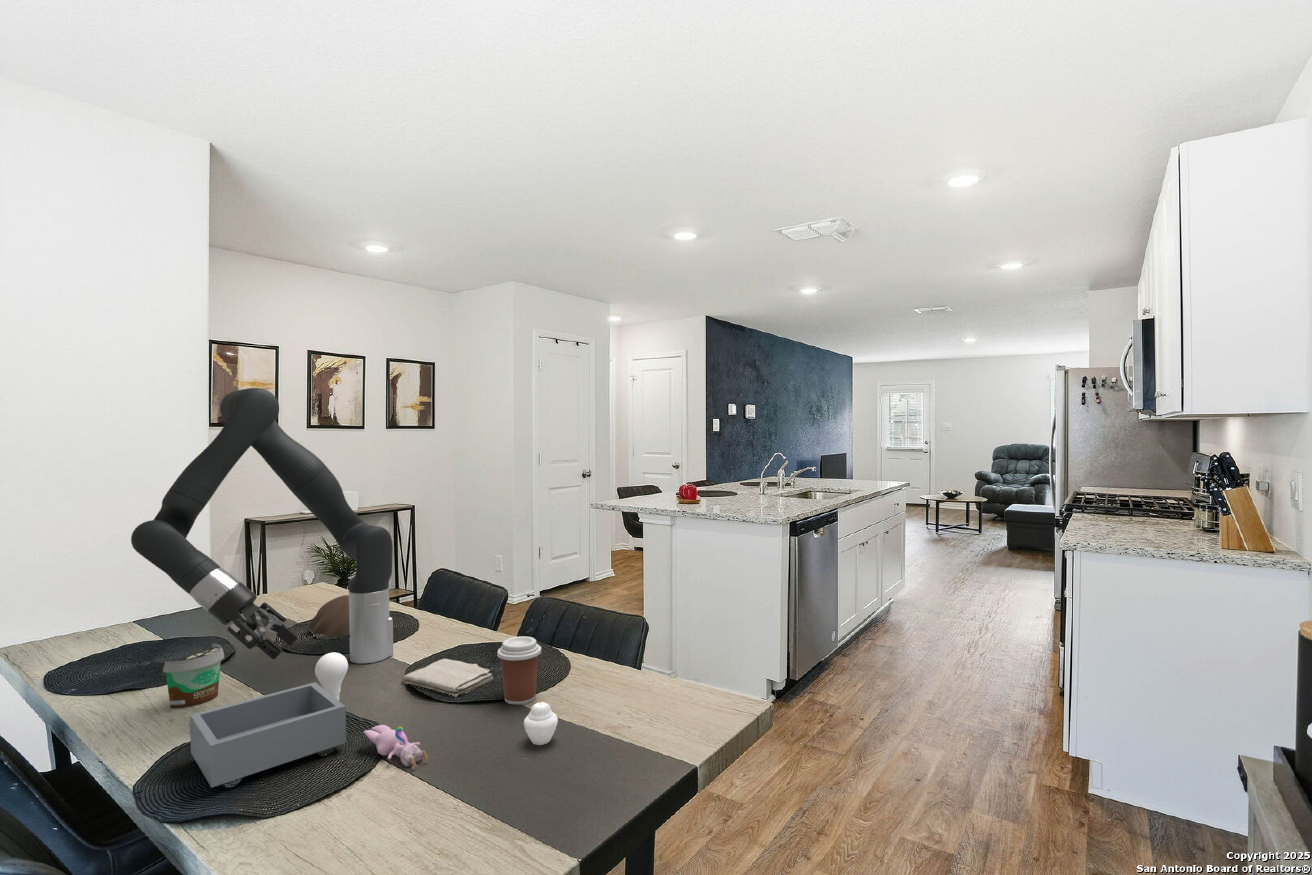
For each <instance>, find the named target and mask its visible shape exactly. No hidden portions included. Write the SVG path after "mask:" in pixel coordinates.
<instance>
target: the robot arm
mask: <svg viewBox="0 0 1312 875" xmlns="http://www.w3.org/2000/svg"><path fill="white" fill-rule="evenodd" d="M219 408H220V409H219V412H220V415H221V418H222V420H223V422H224V423H225V424H224V425H223V427H222V428H221V430H220V431H219V433H218V434H217V436H216V437H215V438H214V439H212V441H211V442H210V443H209V444H208V445H207V447H205V448H204V449H203V451H202V452H201V453H199V454H198V455H197V456H196V457H195V458H194V459H193V460H192V461H191V462H190V463H189V464H188V465H187V466H186V467H185V468H184V469H183V470H182V472H181V473H180V474H179V476H178V477H177V478H176V480H175V481H174V482H173V483H172V485H171V486H170V488H168V491H167V492H166V493H165V495H164V497H163V498H162V501H161V507H160V509H159V511H158V512H157V514H156V516H155V517H154V519H152V520H147V521H144V522H142V523H140V524H138V526H136V527H135V528H134V530H133V531H132V533H131V537H130V543H131V546H132V548H133V550H135V552H137V553H138V554H139V555H140V556H142V557H143V558H144V559H145V560H147V561H148V562H150V563H151V564H152V565H154V566H155V567H156V568H158V569H160V570H161V571H162V572H164V573H165V574H166V575H167V576H168V577H169V579H171V580H172V581H173V582H174V583H175V584H176V585H177V586H178V587H179V588H181V589H182V590H183V591H184V592H185V593H186V594H188V595H189V596H190V597H191V598H192V599H193V600H194V601H195V602H196V604H197V605H199V606H200V607H201V608H203V609H204V610H205V611H206V612H208V614H210V615H211V616H212V617H214V618H215V620H217V621H218V622H220V623H221V624H222V625H224V626H228V625H229V624H230V626H228V627H227V628H226V629H227V632H229V633H230V635H232V636H234V638H235V639H236V640H238V641H239V642H240V644H242V645H244V647H246V648H247V649H249V650H252V649H253V648H254V649H259V650H260V651H262V652H264V654H266V655H267V656H268V657H270V659H272V660H275V659H277V658H278V657H279V656H280V655H281V654H282V653H283V649H282V647H280V646H278V644H276V643H275V642H274V641H272V640H271V639H270V638H268V636H267V635H266V632H270V633H272V634H275V635H276V637H278V638H280V640H282V641H283V642H284V643H285V644H286V645H288V646H292V645H293V644H295V643H296V641H297V640H299V637H298V635H297V634H295V632H293V631H292V630H291V629H289V628H288V627H287V626H286V622H287V619H286V617H284V616H283V615H282V614H281V613H280V612H278V611H277V610H276V609H274V608H273V607H272V606H270V605H269V604H268V603H266V602H263V603H262V604H260V605H259V606H258V605H256V604H255V603H254V602H255V601H256V600H257V597H258V596H257V594H256V593H255V592H253V591H252V590H251V589H250V588H249V587H248V586H246V585H245V584H244V583H243V582H242V581H240V580H239V578H237V577H236V576H234V575H233V574H232V573H230V572H229V571H227V570H225V569H224V568H223V567H221V566H220V565H219V564H218V563H217V562H215V560H213V559H212V558H210V556H208V555H206V554H205V553H204V552H202V551H201V550H199V549H197V548H196V547H195V546H194V545H193V543H191V542H190V541H189V540H188V539H187V537H188V535H189V533H190V532H191V529H192V528H193V526H194V524H195V522H196V519H198V516H199V515H200V513H202V511H203V509H204V508H205V507H206V505H207V504H208V503H209V501H210V500H211V499H212V497H213V495H215V493H216V491H217V489H219V487H220V485H221V484H222V483H223V481H225V480H224V479H226V477H227V475H228V474H229V473H230V472H231V470H232V469H233V468H234V467H235V465H236V464H237V463H238V462H239V460H240V459H241V458H242V457H243V455H244V454H245V453H246V452H247V451H248V449H250V447H252V448H253V449H254V450H255V451H256V452H257V453H258V455H260V456H261V457H262V458H263V460H264V462H266V464H267V465H268V466H269V467H270V468H271V470H272V471H273V472H274V474H276V475H277V477H278V478H279V479H280V480H281V481H282V482H283V483H284V485H285V486H286V488H288V489H289V490H290V491H291V493H293V496H295V497H296V499H298V500H299V501H300V502H301V504H303V505H304V506H305V507H306V508H307V509H308V511H309V512H311V514H313V516H314V517H315V518H317V520H318V521H320V522H321V523H322V524H323V525H324V526H325V528H326V529H327V530H328V531H329V533H330V534H331V535H332V537H333V538H334V540H335V541H336V542H337V545H339V547H340V548H341V550H342V551H343V552H344V554H345V555H346V556H347V557H349V558H350V559H352V560H354V561H355V562H356V563H355V574H354V576H353V577H352V578H350V579H349V581H348V595H349V629H350V638H349V660H350V662H351V663H353V664H370V663H371V664H372V663H377V662H380V661H384V660H385V659H388V658H389V657H392V656H394V624H393V623H394V621H393V617H391V616H390V579H391V577H392V574H393V559H394V558H393V557H394V556H393V555H394V554H393V553H394V551H393V549H394V548H393V547H394V546H393V540H392V536H391V534H390V531H389V530H387V529H386V528H384V527H382V526H379V525H373V524H372V525H371V524H368V523H367V522H365V520H363V519H362V518H361V517H360V516H359V515H358V514H357V513H356V512H355V511H354V510H353V509H352V508H351V506H350V505H349V503H348V501H347V498H346V497H345V494H344V492H343V491H344V490H343V488H342V486H341V484H340V482H339V480H338V479H337V477H336V476H335V475H334V473H333V472H332V471H331V470H330V469H329V468H328V466H327V465H326V464H325V463H324V461H322V460H321V459H320V457H318V456H317V455H316V454H315V453H314V452H312V451H310V450H309V449H308V448H306V447H305V446H303V445H302V444H301V443H300V442H297V441H296V440H294V438H292V437H290V436H289V435H288V434H287V432H285V431H284V429H283V428H282V427H281V426H280V425H279V423H277V421H276V420H277V418H278V416H279V414H280V403H279V401H278V398H277V396H275V395H274V394H273V392H271V391H269V390H268V389H265V388H261V387H260V388H259V387H249V388H243V389H242V388H241V389H237V390H233V391H231V392H229V393H227V394H226V395H225V396H223V398H222V400H220V405H219Z"/></svg>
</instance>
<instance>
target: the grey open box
mask: <svg viewBox="0 0 1312 875" xmlns="http://www.w3.org/2000/svg"><path fill="white" fill-rule="evenodd" d="M346 707H347V706H346V705H345V704H344V703H342V701H340V699H339V700H337V699H336V698H335V697H333V696H332V695H331V694H330V693H328V692H327V691H326V690H325V689H323V687H322V685H319V684H318V683H317V682H315V681H314V682H312V683H311V682H310V683H307V684H304V685H299V686H296V687H292V688H287V689H284V690H280V691H276V692H273V693H269V694H265V695H261V696H258V697H254V698H250V699H246V700H243V701H237V702H235V703H231V704H227V705H223V706H220V707H219V706H218V707H216V708H212V709H208V710H205V711H201V712H197V713H192V714H189V729H190V731H189V732H190V734H189V735H190V754H191V756H192V757H193V759H194V760H195V762H196V764H197V765H198V767H199V769H200V771H201V772H202V774H203V776H204V778H205V779H206V781H207V782H208V784H209V786H210V788H211V789H212V788H214V787H219V786H221V785H222V786H223V785H225V784H227V783H231V782H233V781H236V780H238V779H242V780H243V779H244V778H245V777H247V776H251V775H254V774H256V773H259V772H262V771H265V770H268V769H272V768H274V767H279V766H280V765H283V764H286V763H289V762H292V761H296V760H298V759H299V760H300V759H302V758H304V757H308V756H311V755H313V754H317V755H319V756H321V757H323V756H322V755H325V754H328V753H331V754H333V752H334V750H335V749H336V747H338V746H340V745H343V744H346V743H347V719H346V718H347V716H346V715H347V714H346Z"/></svg>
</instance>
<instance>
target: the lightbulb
mask: <svg viewBox="0 0 1312 875" xmlns="http://www.w3.org/2000/svg"><path fill="white" fill-rule="evenodd" d="M348 669H349V663H348V660H347V658H346V656H344V655H343V654H341V653H340V652H329V653H326V654H324V655H322V656H321V657H320V658H319V659H318V660H317V662H316V664H315V667H314V673H315V677H316V678H317V680H318V681H319V683H320V686H321V687H322V688H323V689H325V690H326V691H327V692H328V693H330V694H331V695H332V696H333V697H335V698H336V699H337V700H339V701H340V693H341V690H342V688H341V687H342V683H343V680H344V678H345V677H346V674H347V672H348Z"/></svg>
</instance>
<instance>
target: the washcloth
mask: <svg viewBox="0 0 1312 875" xmlns="http://www.w3.org/2000/svg"><path fill="white" fill-rule="evenodd" d="M490 671H491V670H490V669H486V668H483V667H481V666H479V665H478V664H477V663H467V662H464V661H460V660H453V659H448V658H442V659H439V660H437V661H434V662H432V663H430V664H429V665H426V666H425V667H423V668H419V669H416V670H414V671H411V672H409V673H407V674H405V675H403V677H402V679H401V680H402V681H401V683H403V685H408V684H417V685H420V686H423V687H425V688H428V689H433V690H434V689H435V690H437V691H439V692H442V693H441V694H443V693H447V694H449V695H448V696H450V695H452V696H451V697H453V696H454V698H457V697H458V696H462V695H464V694H463V693H465V694H467V693H470V692H472V691H474V690H476V689H478V688H480V687H482V686H484V685H486V684H488V683H490V682H492V681H493V680H494V677H493V674H492V673H490ZM481 685H482V686H481ZM473 689H474V690H473ZM471 690H472V691H471ZM439 692H438V693H439ZM459 694H460V695H459ZM461 694H462V695H461Z"/></svg>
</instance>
